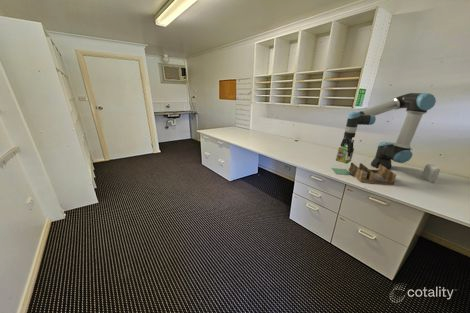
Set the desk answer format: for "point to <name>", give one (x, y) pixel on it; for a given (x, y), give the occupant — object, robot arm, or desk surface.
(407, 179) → the desk surface
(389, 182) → the rack
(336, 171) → the cutting mat
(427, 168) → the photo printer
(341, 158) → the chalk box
